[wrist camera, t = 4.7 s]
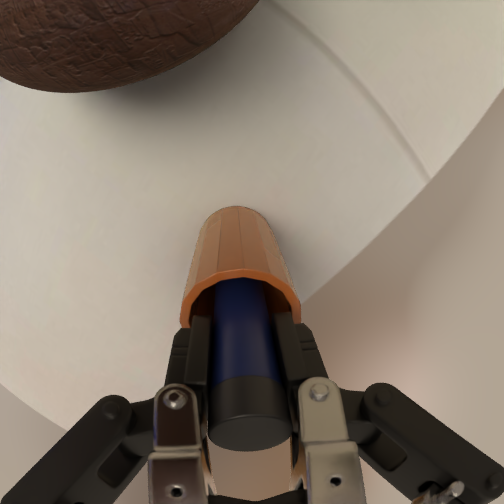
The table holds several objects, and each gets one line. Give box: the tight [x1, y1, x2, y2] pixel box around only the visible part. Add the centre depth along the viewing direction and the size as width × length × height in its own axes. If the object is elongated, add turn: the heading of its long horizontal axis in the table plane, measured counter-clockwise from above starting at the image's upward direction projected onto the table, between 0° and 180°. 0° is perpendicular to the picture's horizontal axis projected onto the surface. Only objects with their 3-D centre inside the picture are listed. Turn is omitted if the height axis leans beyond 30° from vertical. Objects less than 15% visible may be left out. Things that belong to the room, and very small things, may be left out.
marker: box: [208, 277, 293, 451], centre depth 13 cm, size 2×2×14 cm
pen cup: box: [180, 206, 301, 328], centre depth 16 cm, size 5×5×9 cm
